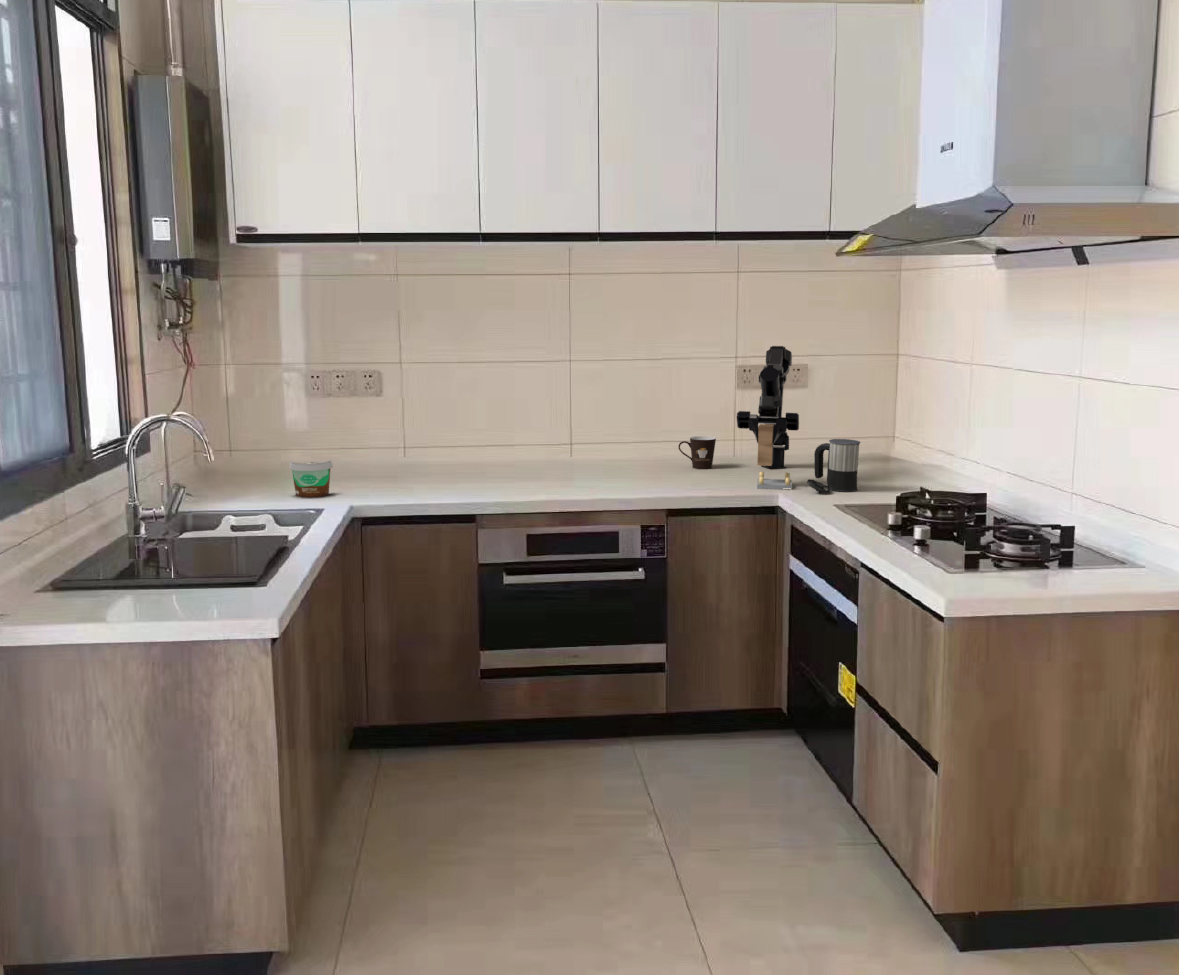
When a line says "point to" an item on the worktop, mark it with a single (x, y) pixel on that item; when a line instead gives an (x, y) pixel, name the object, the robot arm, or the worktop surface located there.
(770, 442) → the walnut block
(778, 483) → the peg stand
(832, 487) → the milk frother
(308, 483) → the food container
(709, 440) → the coffee mug
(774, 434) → the robot arm
